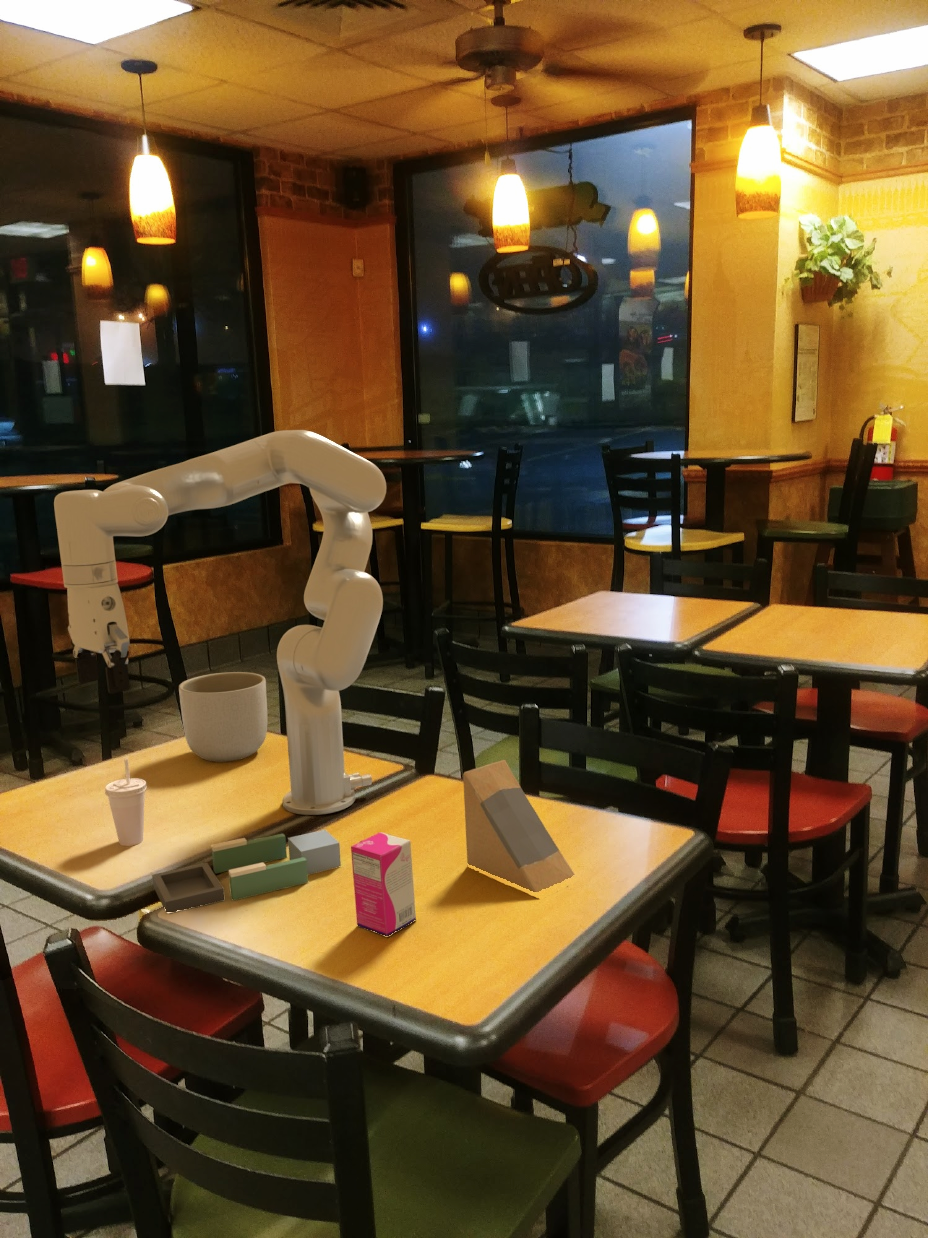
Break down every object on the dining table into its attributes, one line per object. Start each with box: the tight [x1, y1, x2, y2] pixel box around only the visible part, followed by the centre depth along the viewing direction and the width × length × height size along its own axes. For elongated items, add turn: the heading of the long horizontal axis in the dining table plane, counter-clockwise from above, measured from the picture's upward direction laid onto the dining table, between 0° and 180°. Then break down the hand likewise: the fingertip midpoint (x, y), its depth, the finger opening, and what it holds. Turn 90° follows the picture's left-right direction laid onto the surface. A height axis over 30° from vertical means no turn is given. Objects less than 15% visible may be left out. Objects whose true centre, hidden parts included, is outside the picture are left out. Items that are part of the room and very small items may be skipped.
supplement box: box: [350, 832, 417, 936], centre depth 134 cm, size 6×6×12 cm
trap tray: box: [151, 862, 226, 913], centre depth 146 cm, size 8×10×2 cm
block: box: [287, 829, 342, 875], centre depth 155 cm, size 6×6×4 cm
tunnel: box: [210, 833, 309, 901], centre depth 151 cm, size 11×12×4 cm
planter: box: [178, 671, 268, 763], centre depth 207 cm, size 17×17×15 cm
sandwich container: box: [462, 759, 576, 892], centre depth 148 cm, size 9×15×15 cm, turn 42°
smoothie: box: [104, 758, 147, 847], centre depth 164 cm, size 6×6×14 cm
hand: (103, 686), depth 155 cm, fingers open, 9 cm apart
